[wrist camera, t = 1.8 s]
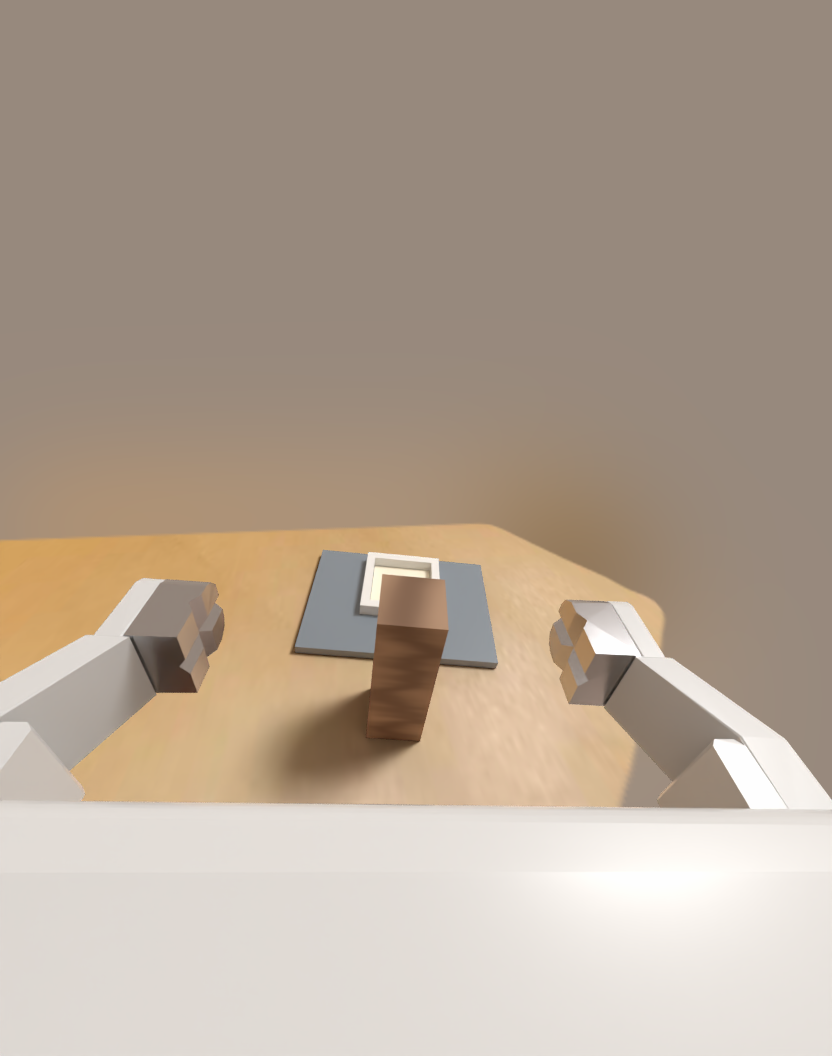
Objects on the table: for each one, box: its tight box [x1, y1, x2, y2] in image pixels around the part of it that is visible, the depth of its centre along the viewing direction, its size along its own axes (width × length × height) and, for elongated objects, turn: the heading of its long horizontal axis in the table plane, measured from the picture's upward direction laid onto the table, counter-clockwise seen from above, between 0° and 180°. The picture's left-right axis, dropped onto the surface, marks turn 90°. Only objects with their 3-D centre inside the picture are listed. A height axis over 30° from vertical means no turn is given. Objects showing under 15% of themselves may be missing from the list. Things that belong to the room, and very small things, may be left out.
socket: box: [360, 552, 440, 615], centre depth 52 cm, size 10×10×2 cm
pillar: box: [366, 574, 449, 741], centre depth 35 cm, size 5×5×16 cm
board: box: [295, 550, 498, 668], centre depth 51 cm, size 22×16×1 cm
